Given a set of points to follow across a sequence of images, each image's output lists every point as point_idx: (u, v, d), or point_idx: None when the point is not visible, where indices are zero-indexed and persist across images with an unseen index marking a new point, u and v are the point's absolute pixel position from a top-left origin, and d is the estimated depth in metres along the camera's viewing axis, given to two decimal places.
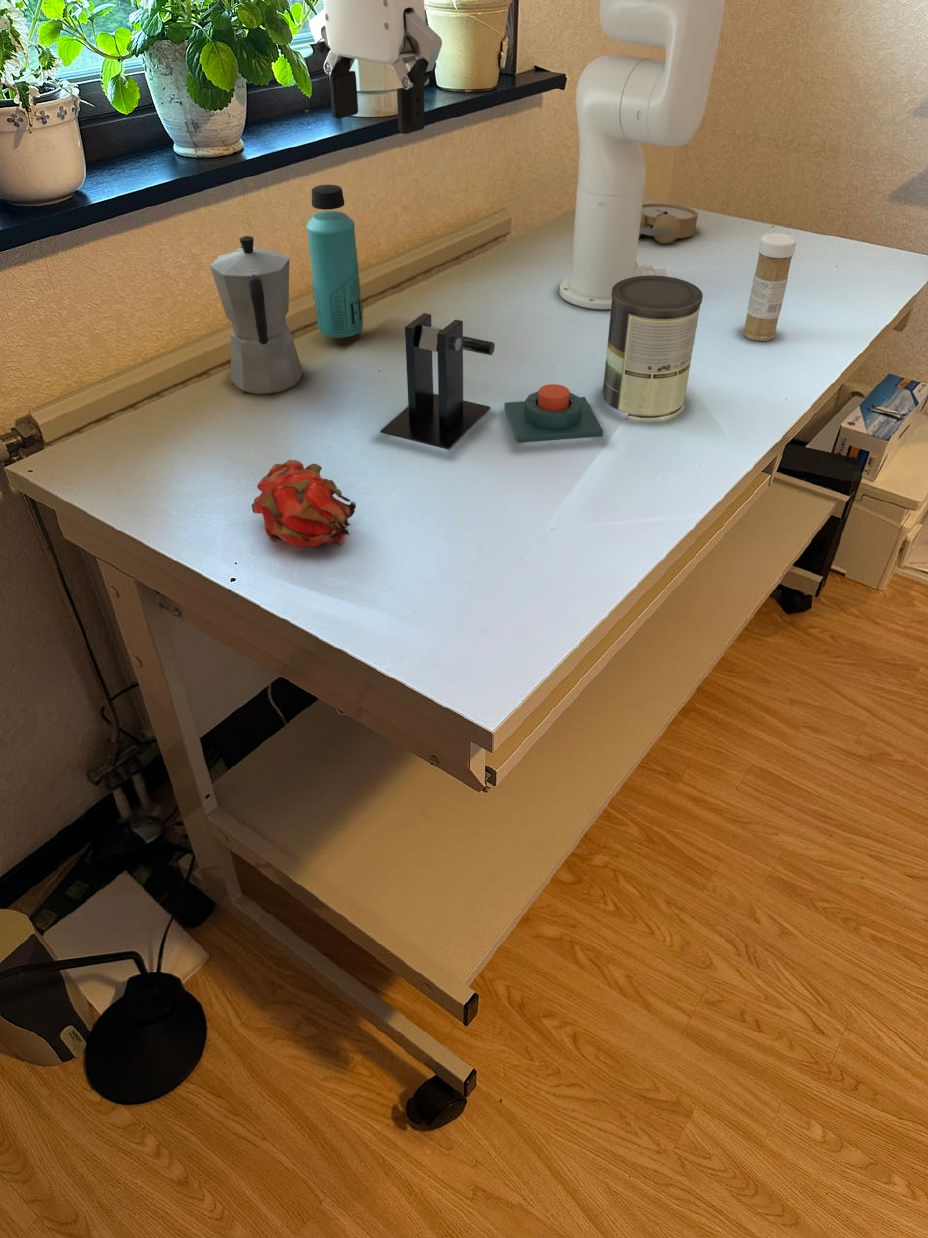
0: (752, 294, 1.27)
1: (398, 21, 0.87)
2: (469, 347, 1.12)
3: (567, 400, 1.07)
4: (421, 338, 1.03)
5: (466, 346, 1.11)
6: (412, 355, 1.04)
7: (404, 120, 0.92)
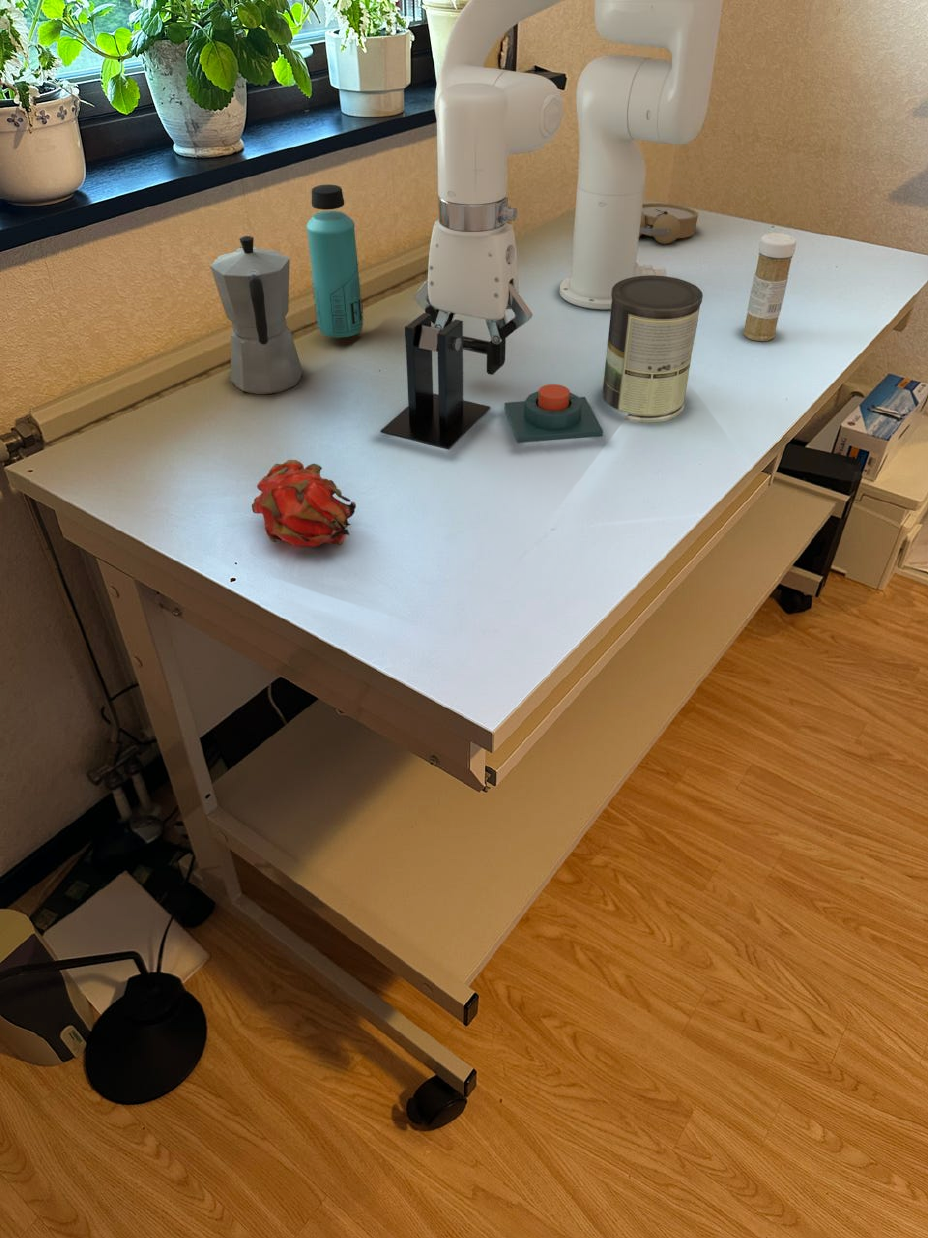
0: (752, 294, 1.27)
1: (505, 291, 1.06)
2: (469, 347, 1.12)
3: (567, 400, 1.07)
4: (421, 338, 1.03)
5: (466, 346, 1.11)
6: (412, 355, 1.04)
7: (492, 365, 1.12)
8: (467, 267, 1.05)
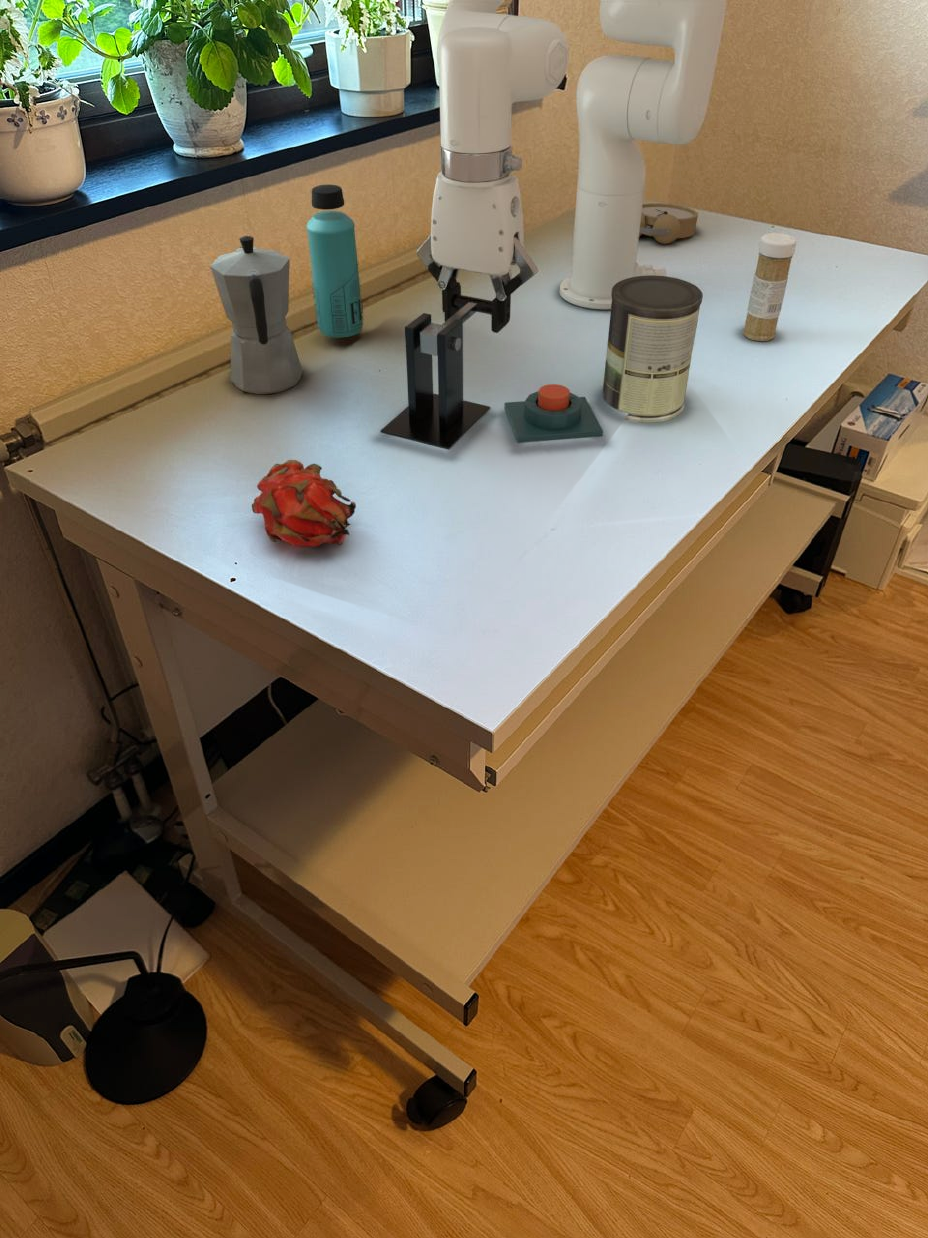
0: (752, 294, 1.27)
1: (510, 245, 1.03)
2: (473, 313, 1.10)
3: (567, 400, 1.07)
4: (421, 344, 1.04)
5: (469, 316, 1.09)
6: (412, 355, 1.04)
7: (497, 323, 1.10)
8: (471, 219, 1.02)
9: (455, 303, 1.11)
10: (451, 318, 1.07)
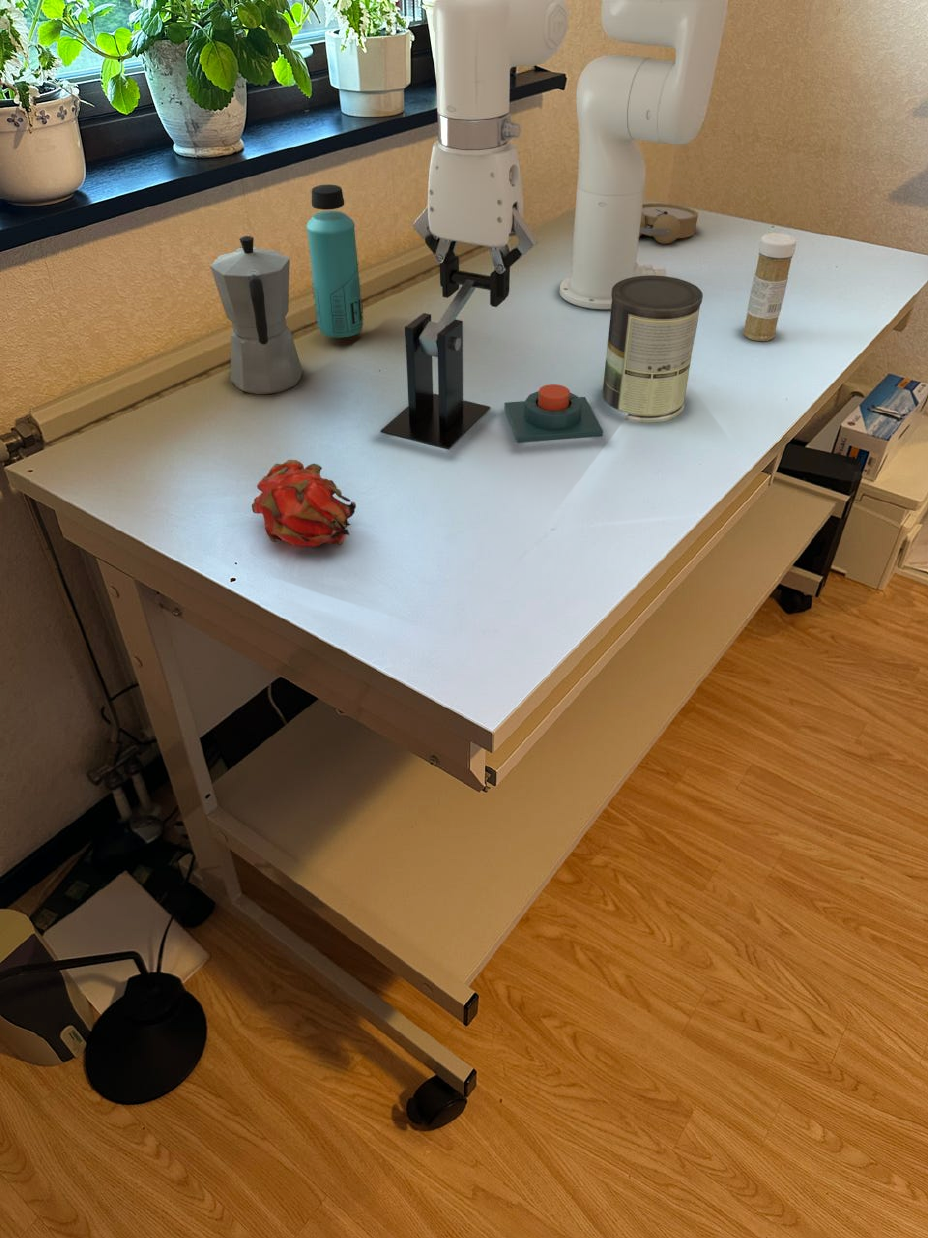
0: (752, 294, 1.27)
1: (509, 215, 1.01)
2: (471, 292, 1.08)
3: (567, 400, 1.07)
4: (422, 347, 1.04)
5: (468, 297, 1.08)
6: (412, 355, 1.04)
7: (496, 296, 1.08)
8: (469, 189, 1.00)
9: (453, 280, 1.09)
10: (449, 308, 1.06)
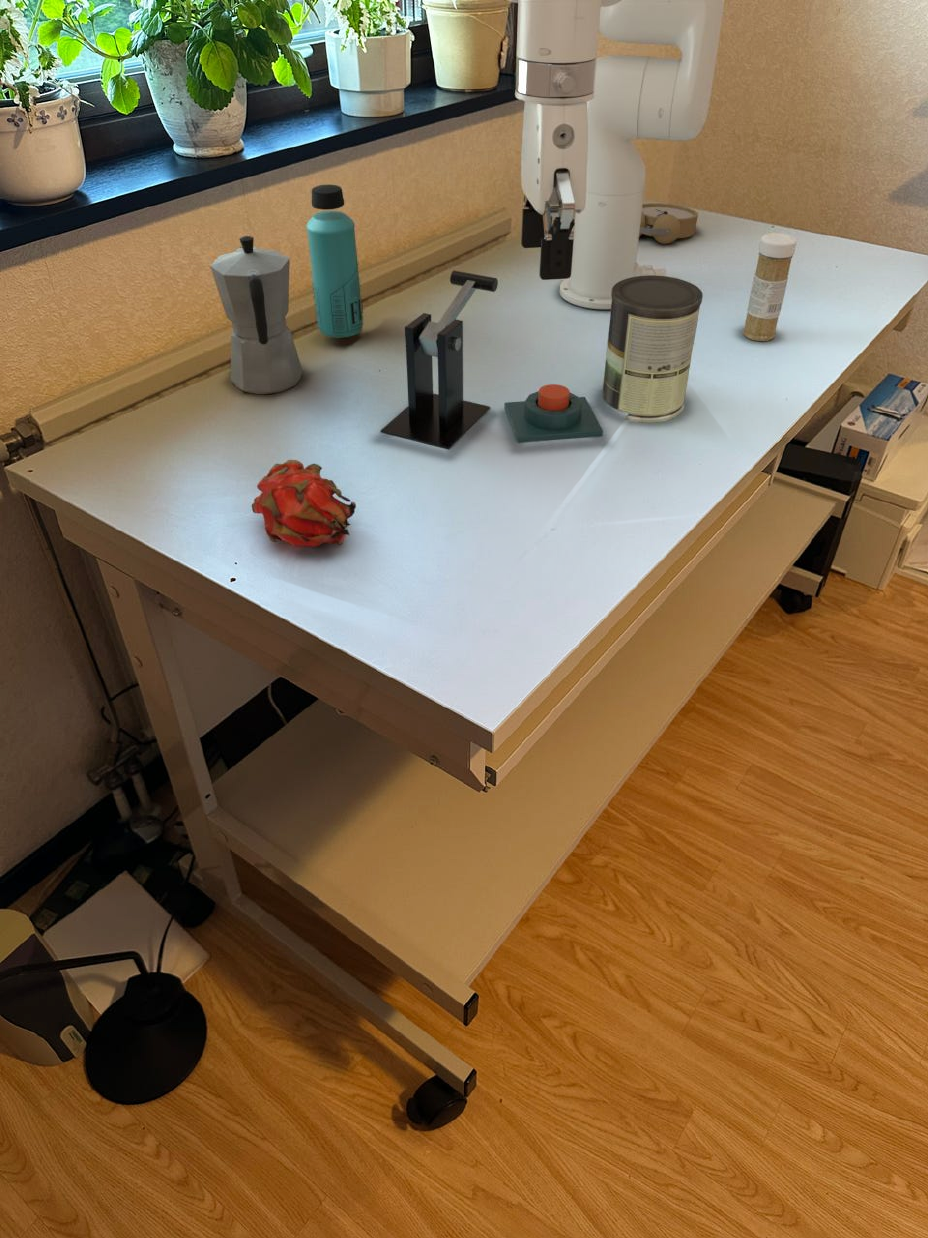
0: (752, 294, 1.27)
1: (547, 179, 0.89)
2: (472, 293, 1.08)
3: (567, 400, 1.07)
4: (422, 347, 1.04)
5: (468, 298, 1.08)
6: (412, 355, 1.04)
7: (543, 267, 0.95)
8: (528, 141, 0.91)
9: (453, 281, 1.09)
10: (449, 308, 1.06)
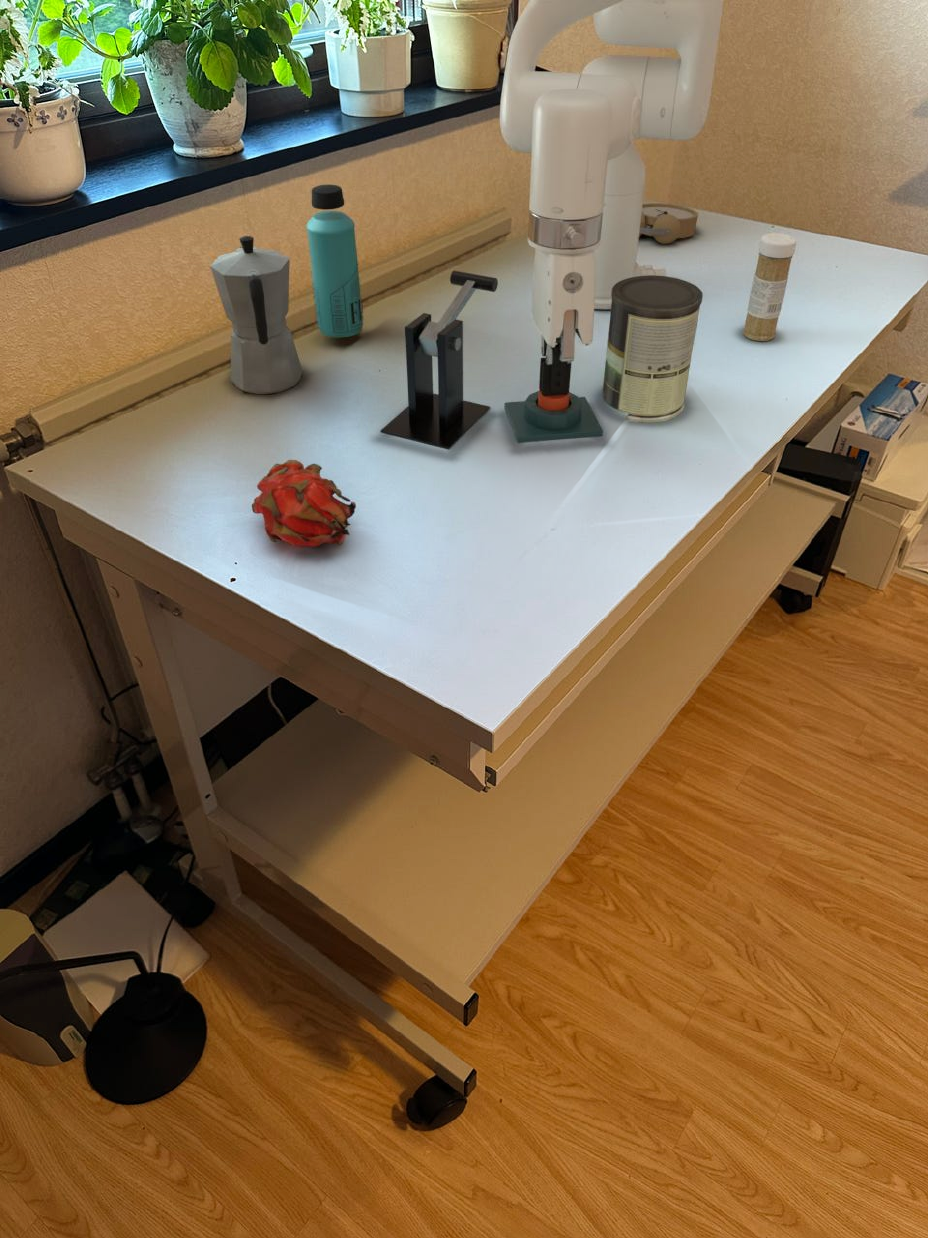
0: (752, 294, 1.27)
1: (557, 319, 0.97)
2: (472, 293, 1.08)
3: (567, 401, 1.07)
4: (422, 347, 1.04)
5: (468, 298, 1.08)
6: (412, 355, 1.04)
7: (545, 386, 1.06)
8: (539, 281, 0.98)
9: (453, 281, 1.09)
10: (449, 308, 1.06)
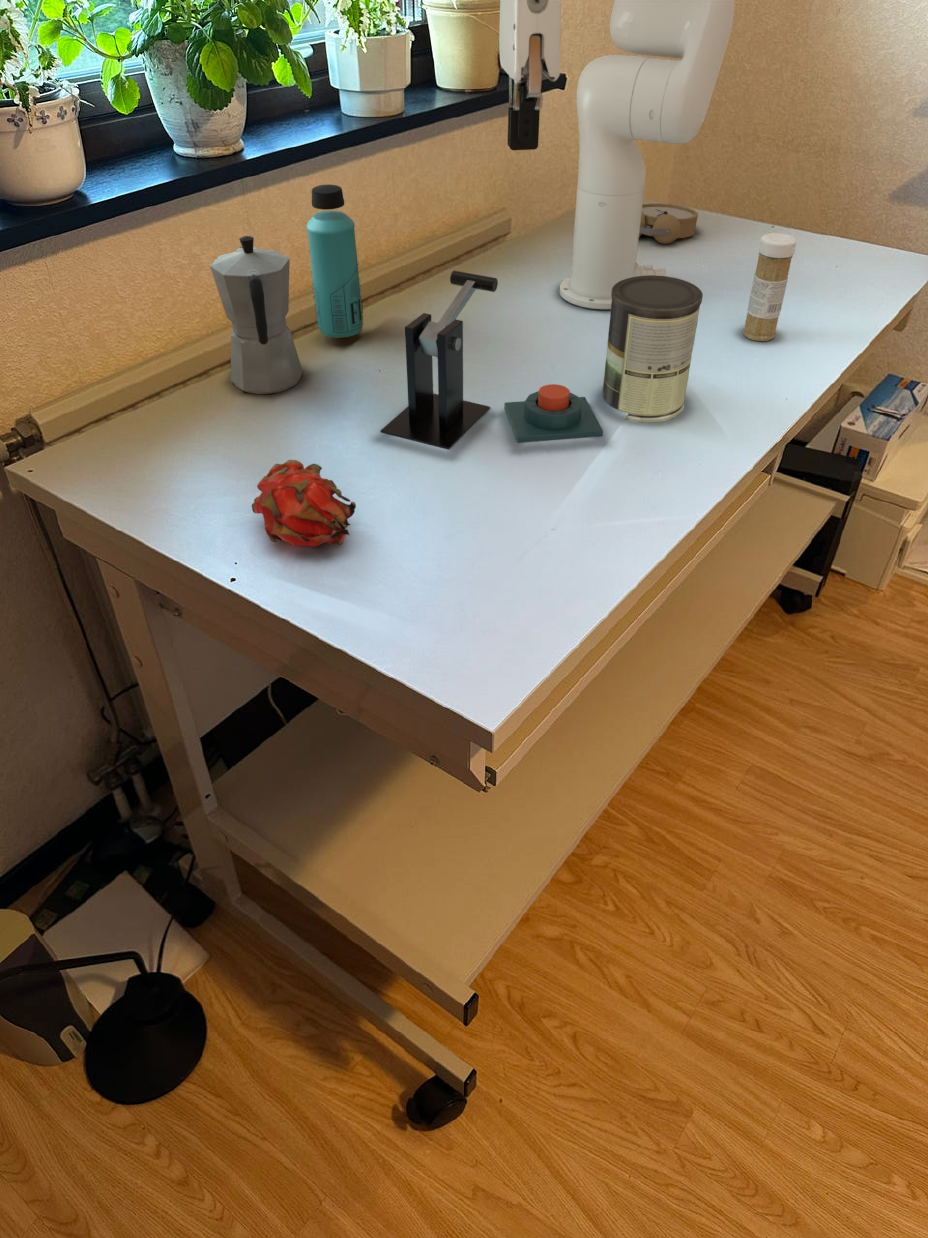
0: (752, 294, 1.27)
1: (522, 44, 0.94)
2: (472, 293, 1.08)
3: (567, 400, 1.07)
4: (422, 347, 1.04)
5: (468, 298, 1.08)
6: (412, 355, 1.04)
7: (513, 138, 1.03)
8: (505, 10, 0.95)
9: (453, 281, 1.09)
10: (449, 308, 1.06)
